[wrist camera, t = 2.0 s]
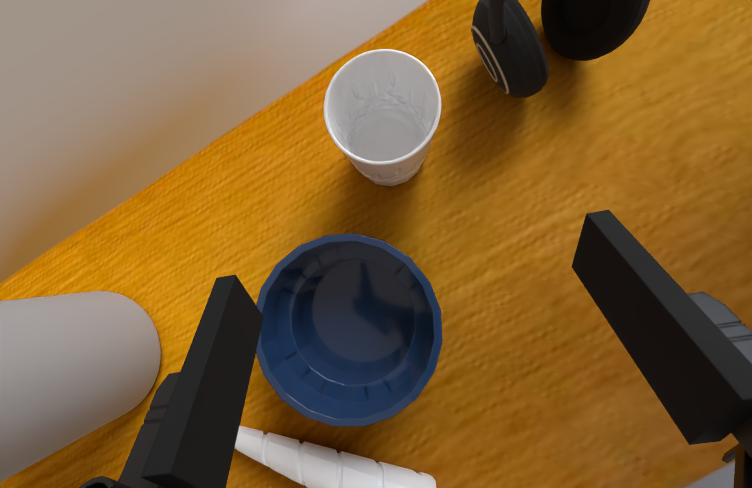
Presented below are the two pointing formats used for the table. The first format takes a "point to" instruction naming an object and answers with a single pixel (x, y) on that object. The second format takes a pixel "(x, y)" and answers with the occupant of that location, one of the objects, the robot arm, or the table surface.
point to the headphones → (548, 36)
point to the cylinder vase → (69, 370)
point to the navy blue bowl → (348, 330)
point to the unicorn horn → (324, 464)
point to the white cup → (383, 114)
